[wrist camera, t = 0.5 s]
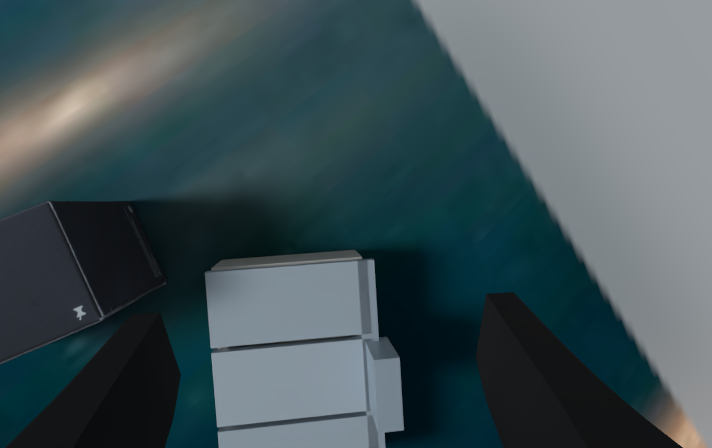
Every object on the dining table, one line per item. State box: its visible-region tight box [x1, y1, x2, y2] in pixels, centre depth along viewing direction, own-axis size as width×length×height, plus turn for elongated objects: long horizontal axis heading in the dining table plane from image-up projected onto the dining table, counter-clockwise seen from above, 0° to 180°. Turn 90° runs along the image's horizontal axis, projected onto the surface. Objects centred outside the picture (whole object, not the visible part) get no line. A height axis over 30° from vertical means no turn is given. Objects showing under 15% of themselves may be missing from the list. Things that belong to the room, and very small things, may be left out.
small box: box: [0, 201, 167, 364], centre depth 27 cm, size 11×6×10 cm, turn 113°
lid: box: [205, 258, 404, 448], centre depth 28 cm, size 14×10×4 cm
